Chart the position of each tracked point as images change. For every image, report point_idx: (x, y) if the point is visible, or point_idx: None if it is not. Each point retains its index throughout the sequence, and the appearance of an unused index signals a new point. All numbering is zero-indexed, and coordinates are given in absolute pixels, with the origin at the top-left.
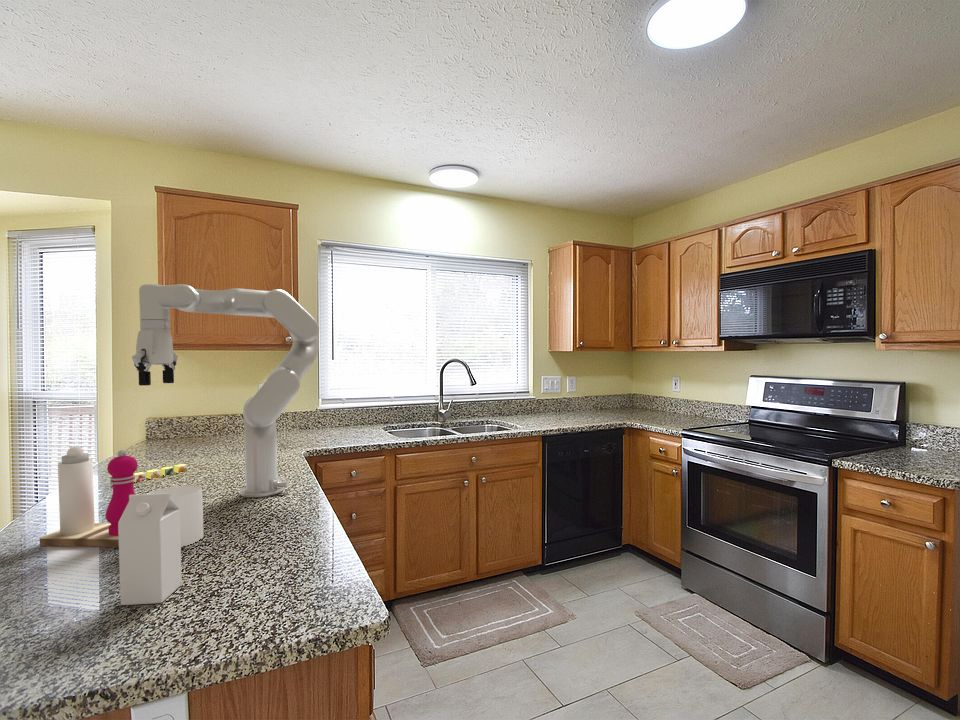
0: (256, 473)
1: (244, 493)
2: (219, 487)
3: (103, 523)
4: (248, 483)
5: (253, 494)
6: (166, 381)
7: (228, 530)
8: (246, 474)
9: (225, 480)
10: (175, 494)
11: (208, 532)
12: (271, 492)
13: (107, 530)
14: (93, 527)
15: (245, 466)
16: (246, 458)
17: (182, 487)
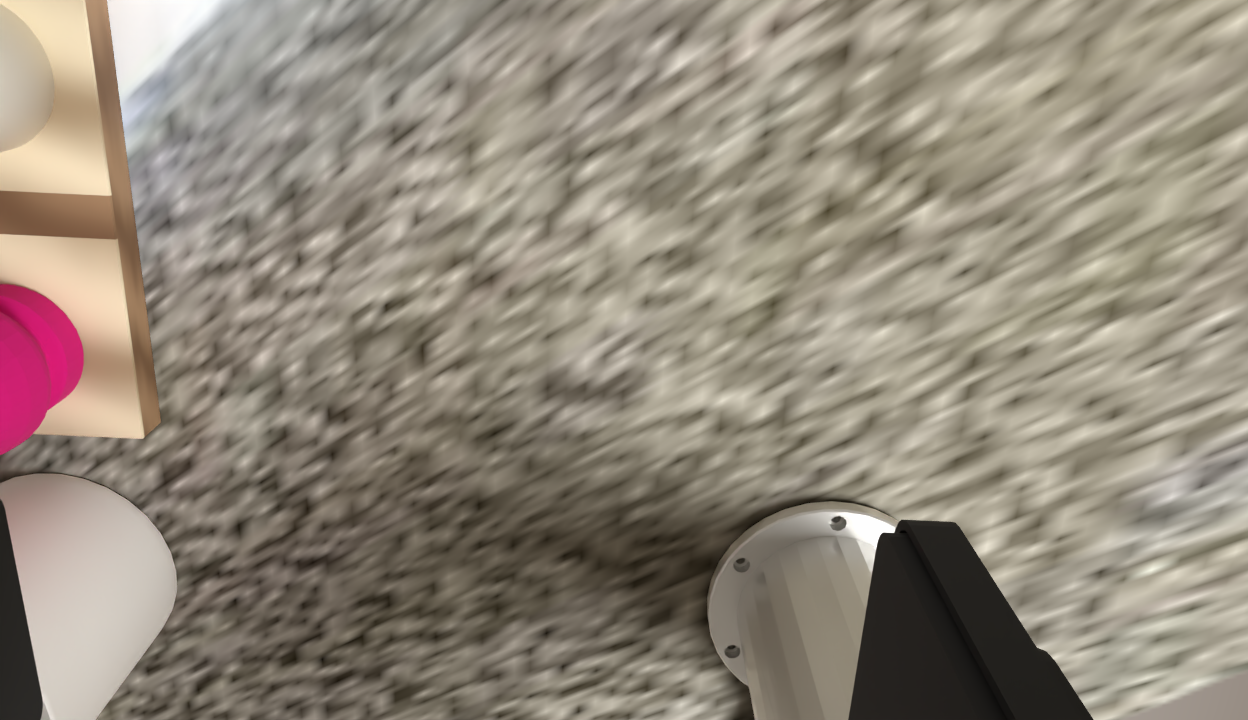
0: (751, 699)
1: (729, 564)
2: (981, 293)
3: (100, 137)
4: (755, 609)
5: (709, 615)
6: (873, 642)
7: (221, 705)
8: (777, 626)
9: (1180, 235)
10: (43, 638)
11: (187, 641)
12: (747, 684)
13: (9, 249)
14: (11, 149)
15: (800, 648)
16: (790, 705)
17: (42, 690)
